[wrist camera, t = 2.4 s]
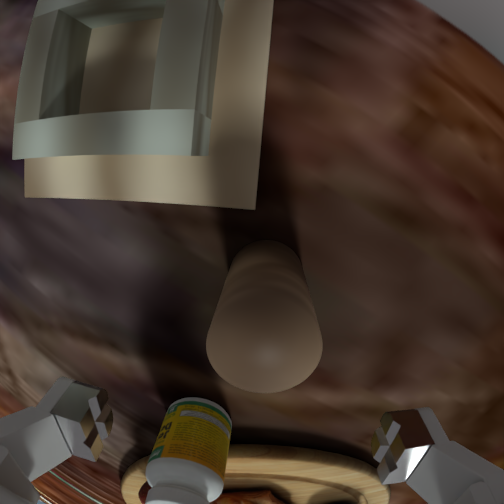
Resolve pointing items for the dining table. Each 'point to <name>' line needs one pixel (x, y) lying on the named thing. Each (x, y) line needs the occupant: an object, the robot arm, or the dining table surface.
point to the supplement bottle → (189, 454)
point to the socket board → (144, 100)
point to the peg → (265, 321)
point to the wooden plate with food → (281, 478)
